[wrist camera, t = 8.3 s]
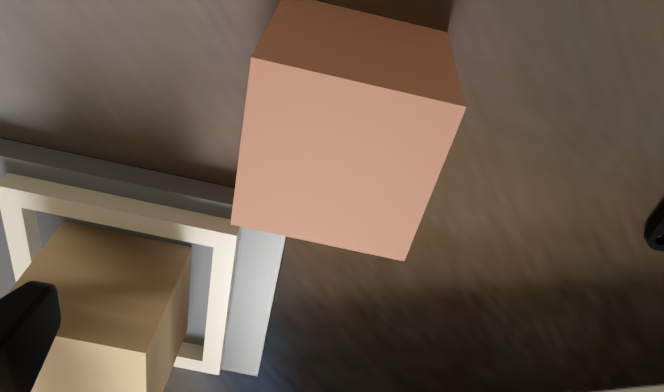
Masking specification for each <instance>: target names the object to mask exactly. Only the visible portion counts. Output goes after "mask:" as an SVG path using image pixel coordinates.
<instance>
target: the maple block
mask: <svg viewBox="0 0 664 392" xmlns="http://www.w3.org/2000/svg"><path fill="white" fill-rule="evenodd" d="M191 255H192V247H188V246H183V245H178V244H173V243H168V242H163V241H158V240H154V239H149V238H144V237H139V236H134V235H129V234H124V233H119V232H114V231H109V230H104V229H99V228H95V227H90V226H85V225H80V224H75V223H70V222H65V221H63V222H62V223H61V224H60V226H59V227H58V228H57V230H56V231H55V232H54V234H53V235H52V236H51V238H50V239H49V240H48V241H47V243H46V244H45V245H44V247H43V248H42V249H41V251H40V252H39V253H38V255H37V256H36V257H35V258H34V260H33V261H32V262H31V264H30V265H29V266H28V268H27V269H26V270H25V271H24V273H23V274H22V275H21V277H20V278H19V279H18V281H17V282H16V283H15V285H14V286H13V287H12V288H11V290H10V291H9V292H8V293H10V292H11V291H13V290H15V289H16V288H18V287H19V286H21V285H23V284H24V283H26V282H29V281H40V282H45V283H50V284H53V285H55V286H56V287H57V290H58V295H59V301H60V307H61V314H62V320H61V325H60V328H59V330H58V333H57V335H56V337H55V339H54V342H53V344H52V346H51V348H50V351H49V353H48V355H47V357H46V359H45V362H44V364H43V366H42V368H41V371H40V373H39V375H38V377H37V380H36V382H35V384H34V386H33V388H32V391H31V392H164V389H165V386H166V384H167V381H168V379H169V376H170V373H171V371H172V368H173V365H174V363H175V360H176V357H177V355H178V352H179V349H180V347H181V344H182V341H183V339H184V336H185V333H186V331H187V325H188V308H189V290H190V273H191Z"/></svg>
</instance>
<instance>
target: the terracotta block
mask: <svg viewBox="0 0 664 392" xmlns="http://www.w3.org/2000/svg"><path fill="white" fill-rule="evenodd" d="M465 109H466V103H465V99H464V96H463V92H462V88H461V84H460V80H459V76H458V72H457V68H456V64H455V61H454V57H453V53H452V49H451V45H450V41H449V37H448V33H447V32H445V31H440V30H436V29H432V28H428V27H424V26H419V25H415V24H411V23H407V22H403V21H399V20H394V19H390V18H386V17H382V16H378V15H374V14H369V13H365V12H361V11H357V10H353V9H349V8H344V7H340V6H336V5H332V4H328V3H324V2H319V1H315V0H281V1H280V3H279V5H278V7H277V9H276V11H275V13H274V15H273V16H272V18H271V20H270V22H269V24H268V26H267V28H266V30H265V32H264V34H263V36H262V38H261V40H260V41H259V43H258V45H257V47H256V49H255V51H254V53H253V55H252V57H251V64H250V72H249V80H248V88H247V96H246V104H245V112H244V120H243V128H242V135H241V143H240V151H239V159H238V167H237V175H236V183H235V191H234V199H233V207H232V215H231V223H230V224H231V225H236V226H240V227H245V228H250V229H254V230H259V231H264V232H268V233H273V234H278V235H283V236H287V237H292V238H297V239H301V240H306V241H311V242H316V243H320V244H325V245H330V246H334V247H339V248H344V249H348V250H353V251H358V252H363V253H367V254H372V255H377V256H381V257H386V258H391V259H396V260H400V261H405V258H406V256H407V253H408V251H409V248H410V246H411V243H412V241H413V238H414V236H415V233H416V231H417V228H418V226H419V224H420V221H421V219H422V216H423V214H424V211H425V209H426V206H427V204H428V201H429V199H430V196H431V194H432V191H433V189H434V186H435V184H436V181H437V179H438V176H439V174H440V171H441V169H442V166H443V164H444V161H445V159H446V156H447V154H448V152H449V149H450V147H451V144H452V142H453V139H454V137H455V134H456V132H457V129H458V127H459V124H460V122H461V119H462V117H463V114H464V112H465Z"/></svg>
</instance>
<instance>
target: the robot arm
mask: <svg viewBox="0 0 664 392" xmlns="http://www.w3.org/2000/svg"><path fill="white" fill-rule="evenodd" d="M662 234H664V205H663V206H662V208H661V209H660V210H659V212H658V213H657V214H656V216H655V217H654V219H653V220H652V221H651V223H650V224H649V225H648V227H647V228H646V229H645V232H644V239H645V240H646V242H647V244H648V245H649V246H650V248H652V249H655V250H659V251H664V235H663V236H662V237H659V238H657V237H658V236H659V235H662ZM61 320H62V314H61V307H60V301H59V295H58V290H57V287H56V286H55V285H53V284H50V283H45V282H40V281H29V282H26V283H24V284H23V285H21V286H19V287H18V288H16V289H15V290H13V291H11V292H10V293H8V294H6V295H5V296H3V297H2V298H0V392H31V391H32V388H33V386H34V384H35V382H36V380H37V377H38V375H39V373H40V371H41V368H42V366H43V364H44V362H45V359H46V357H47V355H48V353H49V351H50V348H51V346H52V344H53V342H54V339H55V337H56V335H57V333H58V330H59V328H60V325H61ZM566 392H585V391H580V390H575V389H570V390H568V391H566Z"/></svg>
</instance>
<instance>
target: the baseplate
mask: <svg viewBox="0 0 664 392" xmlns="http://www.w3.org/2000/svg"><path fill="white" fill-rule="evenodd" d="M234 191H235V188H232V187H227V186H222V185H218V184H213V183H208V182H204V181H199V180H194V179H190V178H185V177H180V176H175V175H171V174H166V173H161V172H157V171H152V170H147V169H143V168H138V167H133V166H129V165H124V164H119V163H115V162H110V161H105V160H101V159H96V158H91V157H87V156H82V155H77V154H73V153H68V152H63V151H59V150H54V149H49V148H44V147H40V146H35V145H30V144H26V143H21V142H16V141H12V140H7V139H2V138H0V298H2V297H3V296H5V295H6V294H8V292H9V291H10V290H11V288H12V287H13V286H14V285H15V283H16V282H17V281H18V279H19V278H20V277H21V275H22V274H23V273H24V271H25V270H26V269H27V268H28V266H29V265H30V264H31V262H32V261H33V260H34V258H35V257H36V256H37V255H38V253H39V252H40V251H41V249H42V248H43V247H44V245H45V244H46V243H47V241H48V240H49V239H50V238H51V236H52V235H53V234H54V232H55V231H56V230H57V228H58V227H59V226H60V224H61V223H62V222H63V221H65V222H70V223H75V224H80V225H85V226H90V227H95V228H99V229H104V230H109V231H114V232H119V233H124V234H129V235H134V236H139V237H144V238H149V239H154V240H158V241H163V242H168V243H173V244H178V245H183V246H188V247H192V255H191V273H190V290H189V308H188V325H187V331H186V333H185V336H184V339H183V341H182V344H181V347H180V349H179V352H178V355H177V357H176V360H175V363H174V365H173V366H174V367H179V368H184V369H189V370H194V371H200V372H205V373H210V374H215V375H219V373H220V370H221V369H223V370H228V371H233V372H238V373H243V374H248V375H253V376H258V371H259V367H260V362H261V358H262V353H263V348H264V343H265V338H266V333H267V328H268V323H269V319H270V314H271V309H272V304H273V299H274V294H275V289H276V284H277V279H278V274H279V270H280V265H281V260H282V255H283V250H284V245H285V240H286V236H283V235H278V234H273V233H268V232H264V231H259V230H254V229H250V228H245V227H240V226H236V225H231V224H230V223H231V215H232V207H233V199H234Z"/></svg>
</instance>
